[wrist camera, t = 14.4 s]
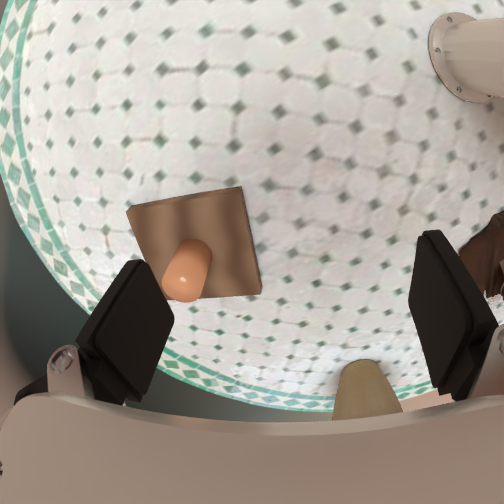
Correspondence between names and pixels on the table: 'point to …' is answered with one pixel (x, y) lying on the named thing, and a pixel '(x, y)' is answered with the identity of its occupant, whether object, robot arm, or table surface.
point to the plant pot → (364, 393)
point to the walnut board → (201, 238)
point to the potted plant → (487, 257)
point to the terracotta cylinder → (187, 271)
